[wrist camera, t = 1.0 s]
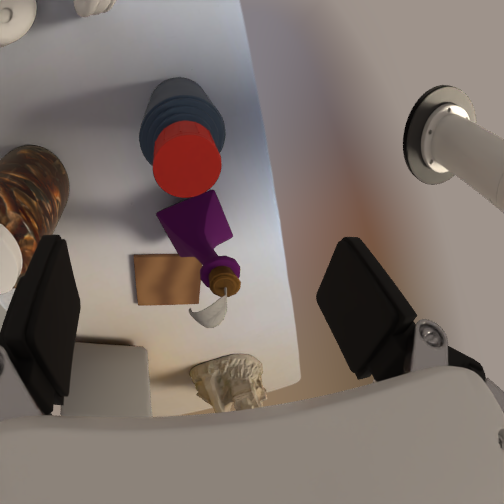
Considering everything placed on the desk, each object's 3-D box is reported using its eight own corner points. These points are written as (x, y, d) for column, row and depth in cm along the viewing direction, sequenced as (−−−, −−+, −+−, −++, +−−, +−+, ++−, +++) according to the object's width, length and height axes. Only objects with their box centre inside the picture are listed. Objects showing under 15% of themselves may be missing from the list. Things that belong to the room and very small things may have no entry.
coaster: (202, 253, 45) (203, 256, 44) (198, 301, 51) (198, 303, 50) (133, 254, 42) (133, 257, 41) (138, 303, 48) (138, 305, 47)
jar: (-3, 138, 26) (-69, 198, 14) (76, 152, 31) (32, 219, 19) (-5, 218, 32) (-49, 294, 20) (65, 232, 37) (38, 317, 25)
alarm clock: (65, 330, 48) (55, 423, 34) (147, 336, 53) (154, 429, 39) (80, 382, 58) (79, 455, 45) (145, 385, 64) (153, 459, 50)
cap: (217, 122, 19) (226, 136, 16) (209, 176, 21) (217, 198, 18) (156, 119, 17) (154, 133, 15) (153, 175, 20) (151, 197, 17)
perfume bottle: (210, 177, 38) (242, 275, 24) (228, 223, 43) (265, 326, 29) (155, 200, 38) (156, 307, 24) (178, 243, 43) (193, 351, 29)
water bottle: (209, 79, 30) (250, 115, 16) (202, 132, 34) (232, 212, 20) (151, 76, 28) (133, 109, 14) (147, 130, 32) (131, 212, 18)
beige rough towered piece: (184, 365, 61) (199, 431, 51) (258, 345, 64) (282, 408, 53) (200, 391, 72) (214, 444, 62) (262, 373, 75) (282, 425, 64)
